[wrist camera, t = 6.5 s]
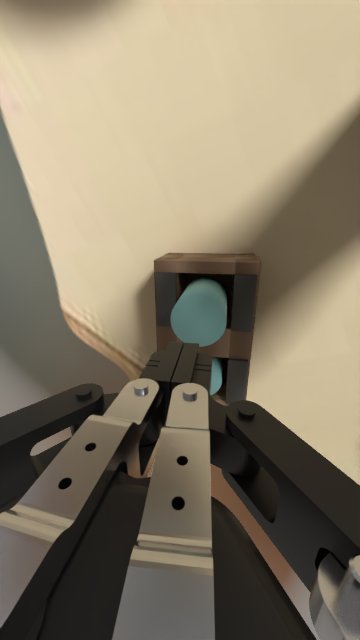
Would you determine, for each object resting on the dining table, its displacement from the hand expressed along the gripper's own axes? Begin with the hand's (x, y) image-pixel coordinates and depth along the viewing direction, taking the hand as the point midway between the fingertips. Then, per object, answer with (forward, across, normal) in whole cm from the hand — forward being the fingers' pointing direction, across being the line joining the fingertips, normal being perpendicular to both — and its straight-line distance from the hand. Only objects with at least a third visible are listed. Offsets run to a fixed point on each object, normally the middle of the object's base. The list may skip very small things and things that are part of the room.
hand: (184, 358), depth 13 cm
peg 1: (+12, 0, 0) cm, 12 cm away
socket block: (+16, 0, +4) cm, 17 cm away
